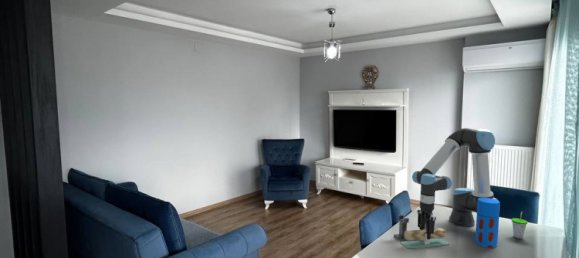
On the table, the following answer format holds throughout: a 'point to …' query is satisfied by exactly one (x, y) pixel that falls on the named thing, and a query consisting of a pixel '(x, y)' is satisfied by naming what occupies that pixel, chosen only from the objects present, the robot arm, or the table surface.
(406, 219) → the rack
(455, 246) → the table surface
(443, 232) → the rail
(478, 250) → the table surface
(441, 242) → the mat
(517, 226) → the cup
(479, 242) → the thermos
